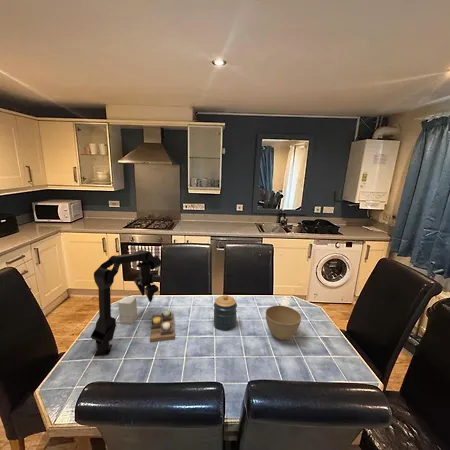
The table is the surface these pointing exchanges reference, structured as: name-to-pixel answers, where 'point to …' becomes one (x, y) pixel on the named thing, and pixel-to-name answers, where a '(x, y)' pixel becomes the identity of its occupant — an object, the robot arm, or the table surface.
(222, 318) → the canister
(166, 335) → the brown button box
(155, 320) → the mustard button
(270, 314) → the tan bowl
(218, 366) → the table surface
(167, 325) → the cream button
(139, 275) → the robot arm
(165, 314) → the sage button
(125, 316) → the supplement box
